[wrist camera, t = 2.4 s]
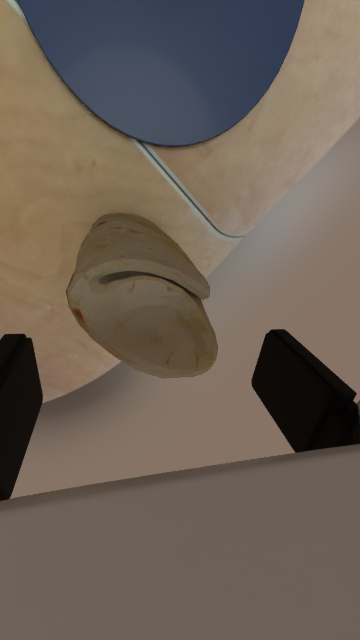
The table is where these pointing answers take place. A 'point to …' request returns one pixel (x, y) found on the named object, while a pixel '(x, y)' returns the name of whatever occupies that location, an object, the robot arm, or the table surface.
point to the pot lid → (166, 60)
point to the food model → (142, 298)
